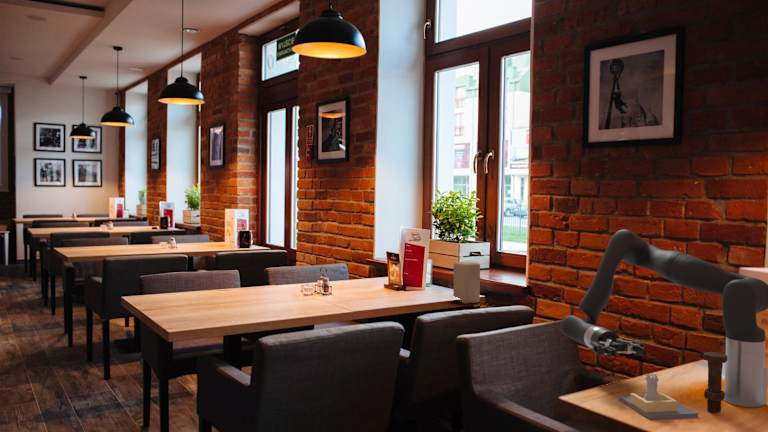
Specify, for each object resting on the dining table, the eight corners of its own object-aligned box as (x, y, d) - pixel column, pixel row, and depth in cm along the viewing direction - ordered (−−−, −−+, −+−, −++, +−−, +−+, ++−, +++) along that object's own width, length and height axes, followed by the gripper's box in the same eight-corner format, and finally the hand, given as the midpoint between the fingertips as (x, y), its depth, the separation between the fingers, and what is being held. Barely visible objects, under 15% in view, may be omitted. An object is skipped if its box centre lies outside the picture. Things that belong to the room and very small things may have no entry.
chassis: (663, 398, 177) (663, 385, 177) (698, 417, 162) (698, 403, 162) (619, 400, 175) (619, 387, 175) (649, 419, 160) (650, 405, 160)
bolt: (730, 414, 164) (732, 355, 164) (716, 416, 163) (717, 357, 162) (711, 407, 170) (713, 350, 169) (697, 409, 168) (698, 352, 167)
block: (480, 302, 326) (480, 263, 325) (464, 304, 321) (465, 264, 320) (468, 299, 335) (468, 261, 334) (452, 301, 330) (452, 262, 329)
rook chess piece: (638, 404, 169) (638, 373, 168) (651, 402, 170) (652, 372, 170) (650, 409, 165) (651, 378, 164) (664, 407, 166) (665, 376, 166)
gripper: (579, 328, 193) (606, 340, 177) (623, 327, 196) (654, 338, 180) (579, 353, 194) (605, 367, 178) (623, 352, 196) (653, 365, 180)
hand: (630, 353), depth 179 cm, fingers open, 8 cm apart
